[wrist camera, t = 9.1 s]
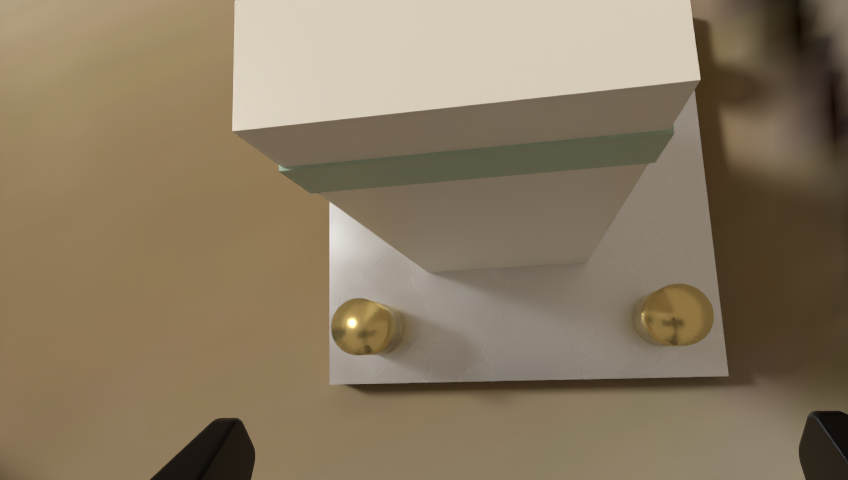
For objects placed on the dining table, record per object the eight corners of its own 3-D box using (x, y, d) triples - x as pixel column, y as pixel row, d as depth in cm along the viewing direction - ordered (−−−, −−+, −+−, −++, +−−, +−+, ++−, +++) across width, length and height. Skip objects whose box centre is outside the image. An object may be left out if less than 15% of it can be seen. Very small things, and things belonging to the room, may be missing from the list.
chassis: (718, 374, 18) (760, 380, 15) (339, 383, 20) (300, 389, 17) (676, 14, 20) (704, -53, 17) (338, 53, 22) (303, 1, 19)
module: (589, 263, 19) (706, 84, 6) (426, 274, 19) (228, 135, 7) (575, 108, 19) (649, -332, 7) (420, 124, 20) (236, -240, 8)
